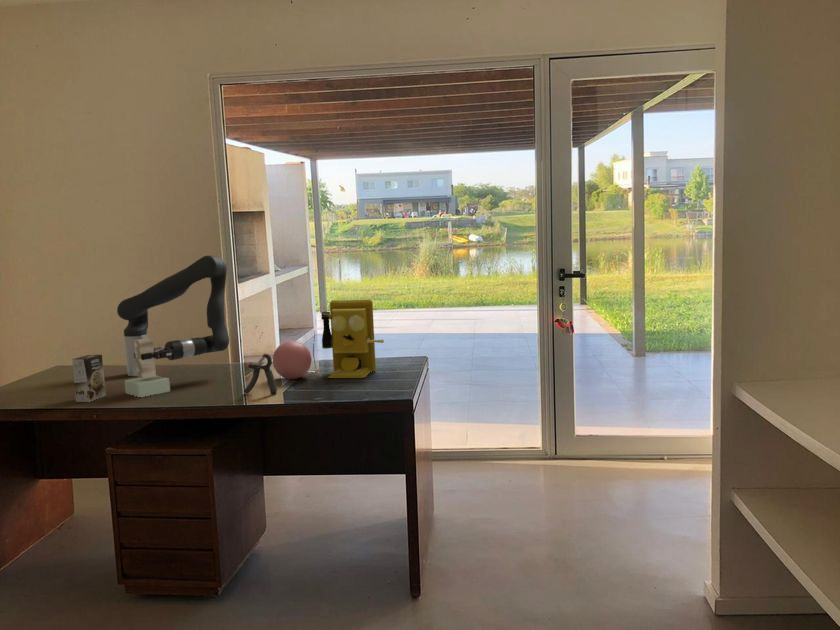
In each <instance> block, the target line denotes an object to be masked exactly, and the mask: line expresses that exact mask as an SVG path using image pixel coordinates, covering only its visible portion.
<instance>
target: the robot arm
mask: <svg viewBox="0 0 840 630" xmlns="http://www.w3.org/2000/svg"><path fill="white" fill-rule="evenodd" d="M227 267H228V266H227V263H226V261H225V260H224V259H223V258H221V257H218V256H214V255H208V254H207V255H204V256H201V257H200V258H199V259H197V260H196V261H195V262H193V263H191V264H190V265H189V266H187V267H185V268H183V269H182V270H179V271H178V272H176V273H174V274H172V275H169V276H168V277H166V278H164V279H162V280H160V281H158V282H157V283H156V284H153V285H152V286H150V287H149V288H147V289H145V290H144V291H142V292H140V293H138V294H136V295H133V296H131V297H129V298H126V299H123V300H122V301H121V302H119V304H118V306H117V309H116V313H117V315H118V317H119V318H120V319H122V320H125V321H128V324H127V326H126V327H125V328H124V329H123V337H124V350H125V359H126V371H127V376H128V377H138V376H137V367H136V356H135V347H134V340H139V339H145V338H148V328H149V313H148V310H149V309H151V308H154V307H157V306H161V305H165V304H166V303H169V302H172V301H173V300H176V299H178V298H179V297H181V296H182V295H184V294H185V293H186V292H187V291H188V290H189V288H190V287H191V286H192V285H193V284H195V283H197V282H200V281H201V280H204V279H207V278H208V279H209V280H210V283H211V284H210V285H211V288H210V289H211V290H210V295H209V298H208V301H207V305H206V306H207V307H206V320H207V321H206V323H207V327H208V329H211V332H212V334H211V335H206V336H202V337H200V336H199V337H192V338H182V339H176V340H170V341H169V340H168V341H166V343H165V344H164V346H158V347H154V346H153V349H154V352H151V353H145V354H141V360H146V359H151V358H152V359H155V360H159V359H166V358H167V359H168V360H169V361H175V360H176V361H177V360H182V359H183V360H184V359H185V358H186V359H187V358H191V357H194V356H200V355H203V354H208V353H210V354H211V353H214V352H215V353H216V352H217V353H218V352H222V351H223V352H224V351H225V350H227V348H228V347H229V345H230V336H229V332H228V329H227V326H226V320H225V319H226V316H225V293H226V282H227V281H226V280H227V271H228V270H227V269H228V268H227Z"/></svg>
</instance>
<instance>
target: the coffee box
mask: <svg viewBox="0 0 840 630" xmlns="http://www.w3.org/2000/svg"><path fill="white" fill-rule="evenodd" d="M71 363H72V371H73V383H74V393H75V402H77V403H91V401H92V402H94V400H95V401H97V400H100V399H103V398H105V397H107V396H106V395H107V394H106V383H105V375H104V364H103V354H87V355H84V356H79V357H76V358H72V362H71ZM104 396H105V397H104ZM102 397H103V398H102ZM99 398H100V399H99ZM96 399H97V400H96Z"/></svg>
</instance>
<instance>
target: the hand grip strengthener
mask: <svg viewBox="0 0 840 630" xmlns="http://www.w3.org/2000/svg"><path fill="white" fill-rule="evenodd" d="M265 358H266V365H265V364H264V365H261V364H262V363H263V361H264V360H265ZM272 365H273V357H272V356H271V355H269V354H268V353H264V354H262V356H261V358H260V359H259V360H258V362H257V363H256V364H252V363H249V362H247V363H246V364H245V368H246V369H252V370H253V371H252V377H251V379H250V381H249V383H248V385H247V386H246V388H245V389H244V391H243V392H244V393H245V394H249V393H250V392H251V391H252V390H253V389H254V387H255V385H256V383H257V381H258V379H259V378H260V377H259V376H260V372H261V370H263V372H264V374H265V377H266V378H265V379H266V381H267V385H268V388H269V392H270V395H271V394H275V395H277V394H278V388H277V384H276V380H275V376H274V373H273V370H271V366H272ZM276 393H277V394H276Z"/></svg>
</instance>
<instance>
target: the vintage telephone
mask: <svg viewBox="0 0 840 630" xmlns="http://www.w3.org/2000/svg"><path fill="white" fill-rule="evenodd" d="M320 308H322V306H321V307H319V308H318V309H317V311H316V315H317V313H318V311H319V310H320ZM323 310H324V311H322V312H321V317H320V318H321V320H322V322H323V323H322V324H323V332H322V337H321V344H322V349H325V350H327V349H331V351H332V366H333V372H331V374H330V373H329V374H328V373H322V375H325V376H327V375H328V376H327V379H328V378H364V377H365V378H366V377H368V376H369V375H370V374H371V373H372V372H371V371H377V365H376V351H375V350H376V345H375V343H381V344H383V343H384V338H382V339H375V326H374V306H373V301H372V300H371V299H344V300H343V299H342V300H341V299H339V300H337V299H336V300H333V299H332V300H331V301H330V302H329V310H330V311H326V310H325V308H323ZM314 324H316V319H315V323H314ZM315 336H316V331H314V335H313V341H315ZM312 347H313V348H312V356H313V357H312V358H313V362H314V364H316V361H315V359H316V358H315V344H313V346H312ZM314 368H315V370H317V369H316V368H317V367H316V365H314ZM334 371H335V372H334ZM370 372H371V373H370ZM369 373H370V374H369ZM368 374H369V375H368ZM367 375H368V376H367ZM365 378H364V379H365Z"/></svg>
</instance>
